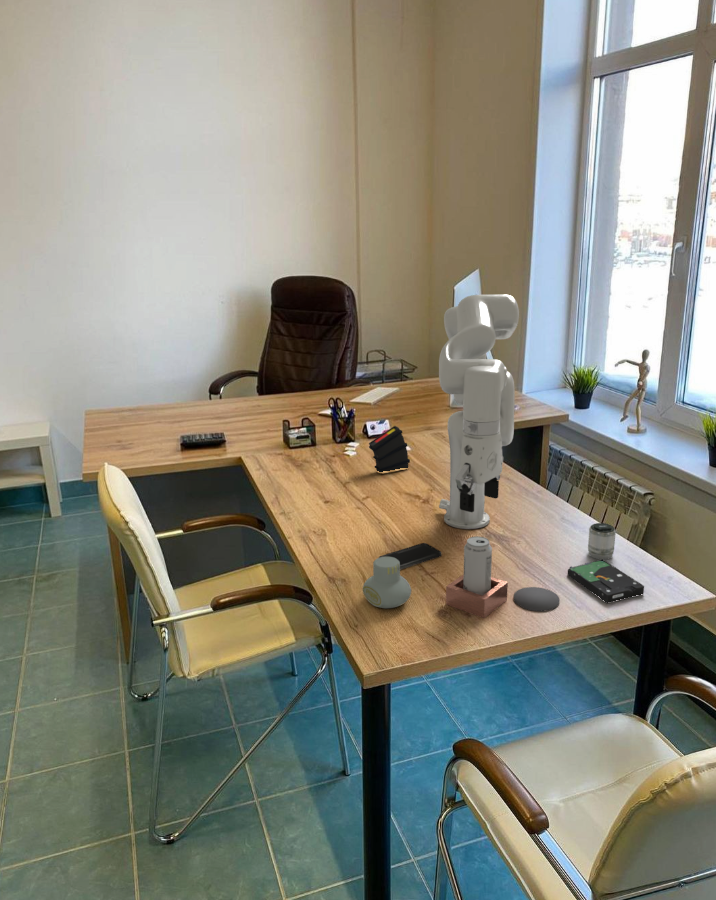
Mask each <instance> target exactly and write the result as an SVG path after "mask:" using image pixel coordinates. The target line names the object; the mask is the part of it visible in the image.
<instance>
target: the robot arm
mask: <svg viewBox="0 0 716 900" xmlns="http://www.w3.org/2000/svg"><path fill="white" fill-rule="evenodd" d="M519 320H520V308H519V304H518V302H517V300H516V298H514V296H512V295H511V294H510V295H509V294H501V293H500V294H472V295H468V296H465V297H464V298H462V299H461V300H460V301H459V302H458V304H457V306H452V307H450V308H447V310H446V311H445V312H444V315H443V323H444V324H443V325H444V329H445V330H444V331H445V333H446V337H447V338H448V340H447V341H446V343H445V344H444V345H443V346H442V348H441V351H440V353H439V358H438V380H439V381H438V382H439V385H440V388H441V390H442V391H443V392H444V393H445V394H448V395H453V398H454V401H455V403H457V404H458V405H460V406H462V410H459V411H456V412H453V413H452V414H451V415H450V416H449V417H448V420H447V434H448V441H449V454H450V455H449V457H450V458H449V460H450V463H449V464H450V465H449V466H450V469H449V471H450V474H449V476H450V477H449V482H450V483H449V500H448V499H444V498H441V499H440V501H439V504H438V508H439V509H440V510H444V511H446V513H444V515H443V521H444V523H446V524H447V525H448V526H450V527H453V528H456V529H462V530H476V529H481V528H484V527H486V526H487V525H488V524H490V519H491V517H490V515H489V514H488V513H487V512H485V499H486V498H485V497H488V498H492V499H495V500H496V499H498V498H499V485H500V482H499V480H500V479H501V474H502V471H503V463H504V456H503V447H506V446H508V445H510V444H511V443H512V442H513V439H514V433H515V432H514V431H515V395H516V394H515V392H516V391H515V380H514V377H513V375H512V373H511V372H509V371H508V368H507V367H506V366H505V364H504V363H503V361H501V360H499V359H495V358H487V353H489V352H490V351H491V350H492V349H493V347H494V346H495V344H496V340H507V339H509V338H511V337H512V335H513V334H514V332H515V331H516V329H517V327H518V325H519Z"/></svg>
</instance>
